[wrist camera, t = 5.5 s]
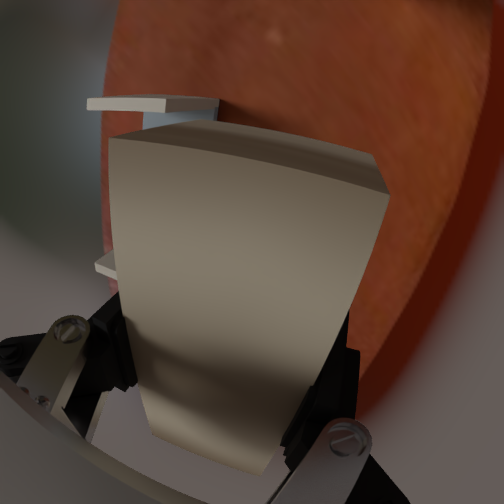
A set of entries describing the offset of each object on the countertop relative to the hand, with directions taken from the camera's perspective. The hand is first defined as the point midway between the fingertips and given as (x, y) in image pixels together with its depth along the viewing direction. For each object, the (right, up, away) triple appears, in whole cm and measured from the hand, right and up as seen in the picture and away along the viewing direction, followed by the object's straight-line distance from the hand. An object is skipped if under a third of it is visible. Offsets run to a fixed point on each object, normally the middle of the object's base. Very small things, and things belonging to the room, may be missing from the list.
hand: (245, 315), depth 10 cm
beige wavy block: (0, 0, +1) cm, 1 cm away
